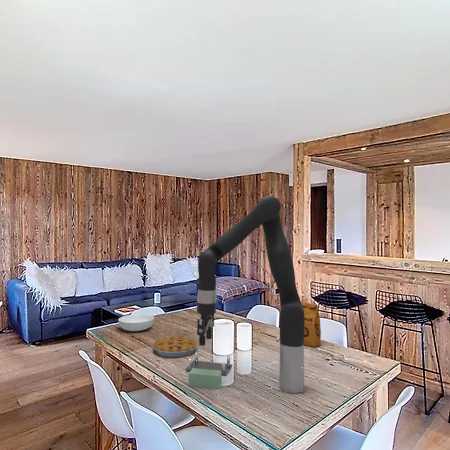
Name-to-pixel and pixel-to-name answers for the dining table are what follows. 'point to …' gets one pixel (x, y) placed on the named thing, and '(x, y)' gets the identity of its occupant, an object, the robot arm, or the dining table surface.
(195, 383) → the board
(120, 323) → the serving bowl
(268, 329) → the dining table surface
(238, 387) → the dining table surface
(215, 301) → the robot arm
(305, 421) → the dining table surface
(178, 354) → the pie
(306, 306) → the coffee package
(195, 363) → the chassis
